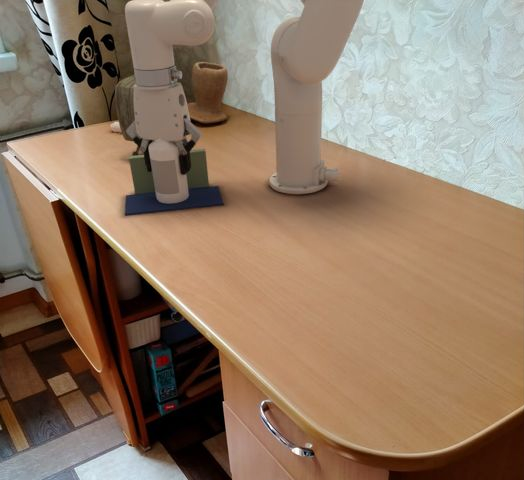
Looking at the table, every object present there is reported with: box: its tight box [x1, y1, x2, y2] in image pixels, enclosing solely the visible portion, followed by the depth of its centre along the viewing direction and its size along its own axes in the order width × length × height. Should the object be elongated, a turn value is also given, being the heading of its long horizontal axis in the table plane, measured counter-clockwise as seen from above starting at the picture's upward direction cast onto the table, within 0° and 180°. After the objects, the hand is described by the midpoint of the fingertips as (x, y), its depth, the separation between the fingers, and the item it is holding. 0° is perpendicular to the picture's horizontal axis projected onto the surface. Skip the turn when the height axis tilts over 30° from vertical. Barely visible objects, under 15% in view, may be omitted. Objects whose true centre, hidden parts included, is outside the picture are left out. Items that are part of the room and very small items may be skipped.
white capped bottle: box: [148, 138, 189, 204], centre depth 115 cm, size 7×7×18 cm
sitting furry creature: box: [109, 121, 122, 134], centre depth 158 cm, size 10×9×12 cm
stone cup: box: [187, 61, 229, 124], centre depth 162 cm, size 15×12×15 cm
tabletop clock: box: [114, 73, 154, 156], centre depth 137 cm, size 14×9×25 cm, turn 149°
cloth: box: [124, 185, 224, 216], centre depth 120 cm, size 10×20×1 cm, turn 100°
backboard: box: [128, 148, 210, 194], centre depth 123 cm, size 2×16×8 cm, turn 100°
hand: (168, 170), depth 117 cm, fingers closed on white capped bottle, 6 cm apart
